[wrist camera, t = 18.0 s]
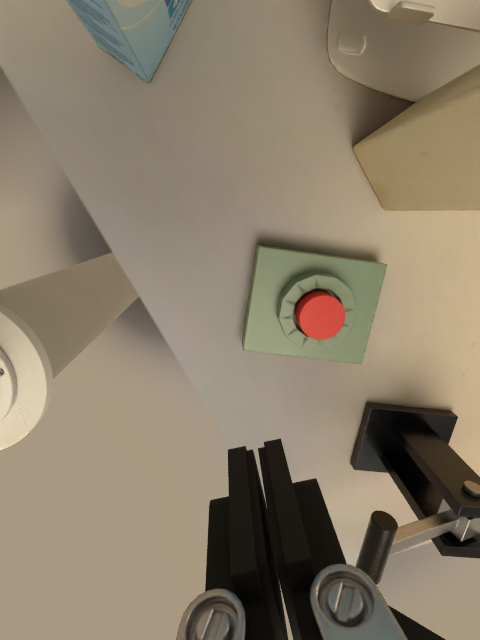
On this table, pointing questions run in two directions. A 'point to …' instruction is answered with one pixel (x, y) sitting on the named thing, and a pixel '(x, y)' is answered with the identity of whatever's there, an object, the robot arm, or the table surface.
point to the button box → (299, 280)
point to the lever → (408, 536)
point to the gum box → (132, 29)
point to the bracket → (421, 465)
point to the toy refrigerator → (429, 151)
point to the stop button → (320, 315)
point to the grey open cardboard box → (404, 43)
